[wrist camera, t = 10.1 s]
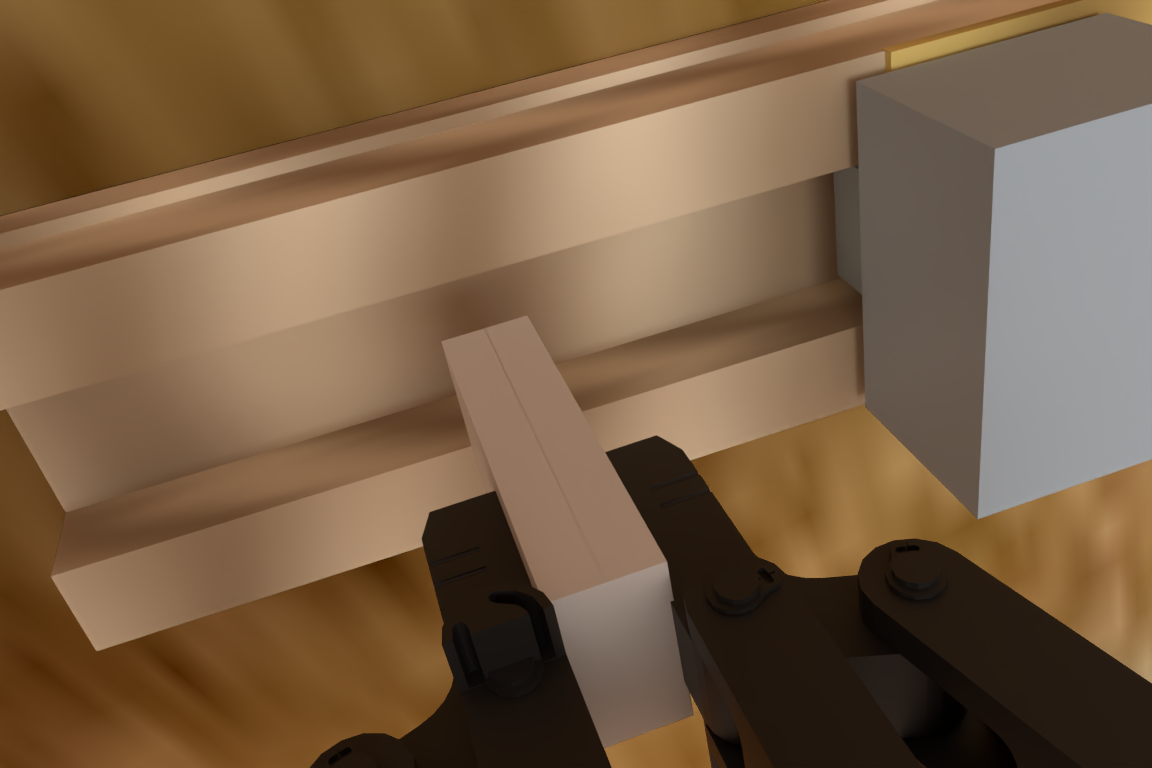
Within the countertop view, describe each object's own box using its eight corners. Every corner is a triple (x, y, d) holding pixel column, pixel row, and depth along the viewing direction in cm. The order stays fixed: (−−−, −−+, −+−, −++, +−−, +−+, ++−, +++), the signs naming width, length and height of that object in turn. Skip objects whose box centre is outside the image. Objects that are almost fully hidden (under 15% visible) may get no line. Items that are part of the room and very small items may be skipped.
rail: (117, 563, 23) (96, 698, 19) (-69, 233, 18) (-136, 334, 15) (1281, 201, 27) (1429, 260, 24) (1352, -137, 23) (1545, -122, 19)
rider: (821, 362, 24) (977, 519, 19) (804, 56, 20) (994, 148, 15) (1016, 301, 24) (1217, 436, 19) (1035, -7, 20) (1293, 62, 15)
